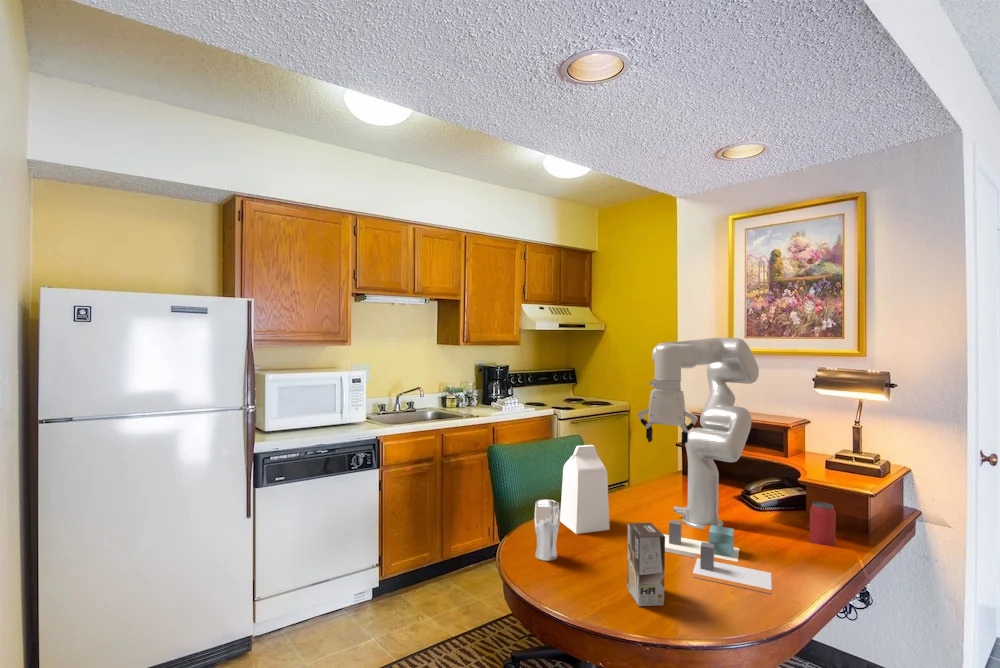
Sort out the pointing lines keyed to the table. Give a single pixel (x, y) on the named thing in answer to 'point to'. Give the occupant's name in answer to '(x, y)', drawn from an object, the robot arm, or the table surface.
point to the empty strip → (729, 571)
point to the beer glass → (546, 528)
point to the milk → (585, 492)
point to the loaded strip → (688, 544)
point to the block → (722, 540)
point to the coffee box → (646, 564)
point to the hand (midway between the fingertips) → (666, 443)
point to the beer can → (822, 524)
